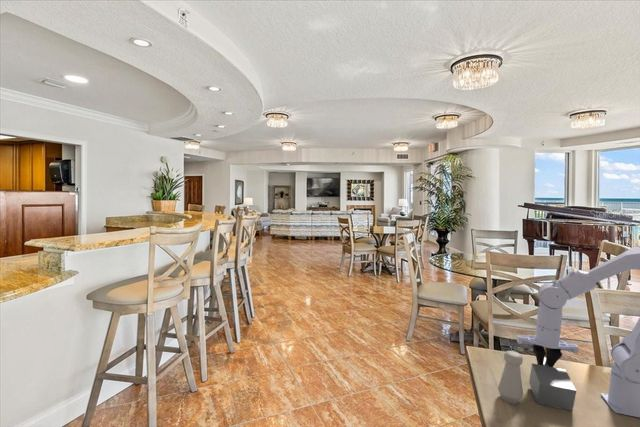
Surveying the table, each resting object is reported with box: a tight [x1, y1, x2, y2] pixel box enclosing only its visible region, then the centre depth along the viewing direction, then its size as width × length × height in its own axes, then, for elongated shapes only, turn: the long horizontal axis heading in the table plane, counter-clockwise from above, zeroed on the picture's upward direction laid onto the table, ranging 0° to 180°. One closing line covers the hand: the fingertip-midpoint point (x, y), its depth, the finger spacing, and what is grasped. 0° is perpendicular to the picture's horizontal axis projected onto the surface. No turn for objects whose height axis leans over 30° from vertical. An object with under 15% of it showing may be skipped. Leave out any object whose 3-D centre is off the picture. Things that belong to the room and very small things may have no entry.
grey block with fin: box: [528, 357, 577, 412], centre depth 92 cm, size 14×8×6 cm, turn 160°
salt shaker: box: [497, 350, 524, 405], centre depth 88 cm, size 6×6×13 cm
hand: (543, 371), depth 96 cm, fingers closed on grey block with fin
